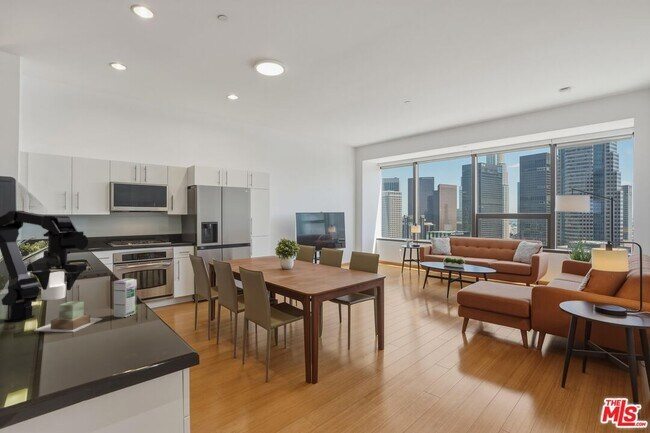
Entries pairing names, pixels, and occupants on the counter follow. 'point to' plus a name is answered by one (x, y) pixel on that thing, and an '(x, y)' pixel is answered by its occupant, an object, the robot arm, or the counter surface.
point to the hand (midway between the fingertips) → (56, 289)
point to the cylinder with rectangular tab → (54, 287)
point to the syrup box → (125, 297)
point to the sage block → (71, 310)
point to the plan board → (48, 327)
